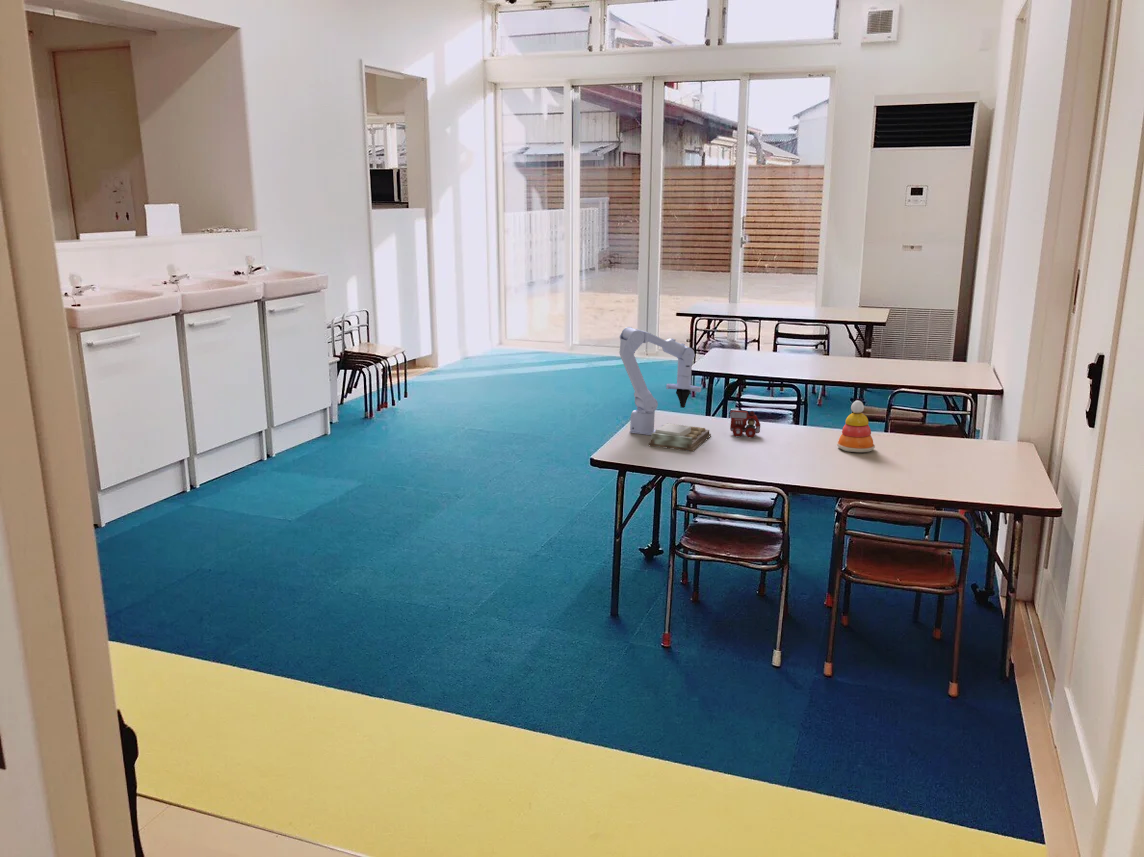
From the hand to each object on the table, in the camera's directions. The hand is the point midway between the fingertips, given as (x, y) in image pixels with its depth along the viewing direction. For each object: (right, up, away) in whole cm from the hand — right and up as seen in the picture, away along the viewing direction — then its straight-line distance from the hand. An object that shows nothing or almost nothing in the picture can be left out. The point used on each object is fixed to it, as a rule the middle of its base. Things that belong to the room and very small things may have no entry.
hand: (682, 407), depth 372 cm
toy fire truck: (+24, -12, -6) cm, 28 cm away
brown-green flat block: (-3, -14, -16) cm, 21 cm away
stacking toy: (+64, -17, -24) cm, 71 cm away
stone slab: (-6, -11, -20) cm, 23 cm away
